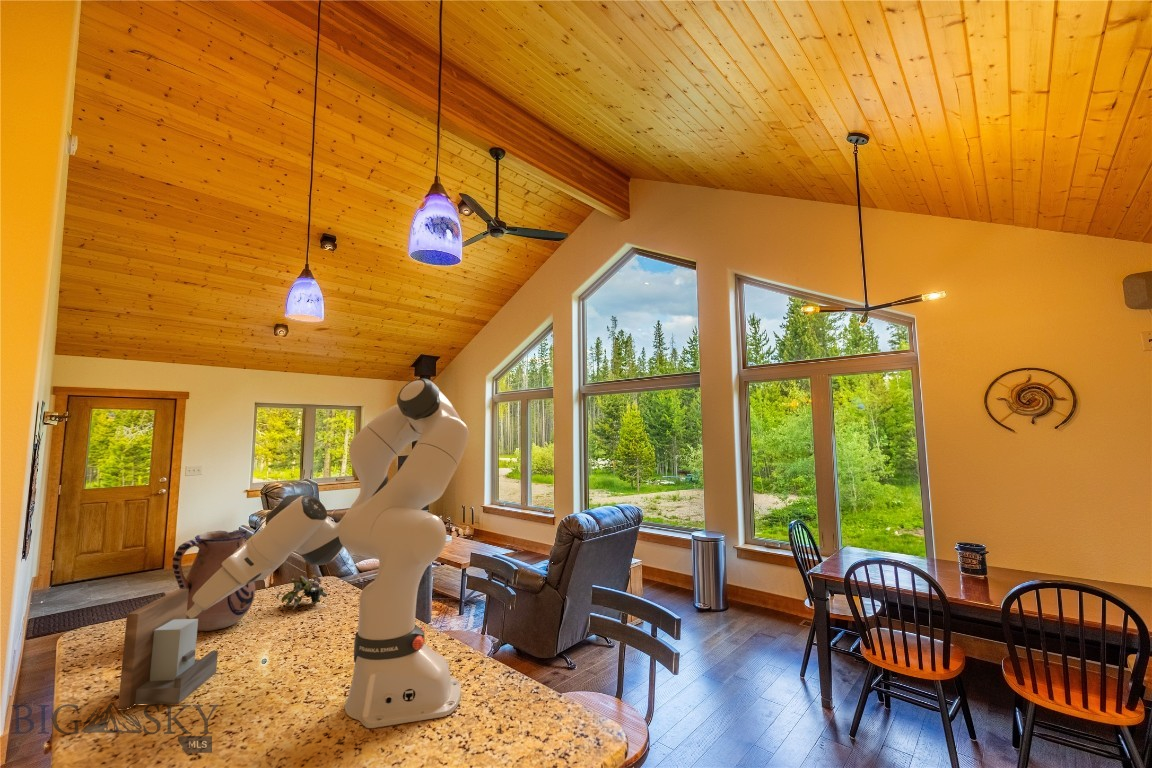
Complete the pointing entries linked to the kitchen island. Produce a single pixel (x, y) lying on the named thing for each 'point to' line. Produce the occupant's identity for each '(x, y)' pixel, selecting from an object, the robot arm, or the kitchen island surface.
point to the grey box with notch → (173, 649)
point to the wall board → (140, 654)
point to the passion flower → (308, 587)
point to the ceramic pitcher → (205, 565)
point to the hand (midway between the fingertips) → (203, 607)
